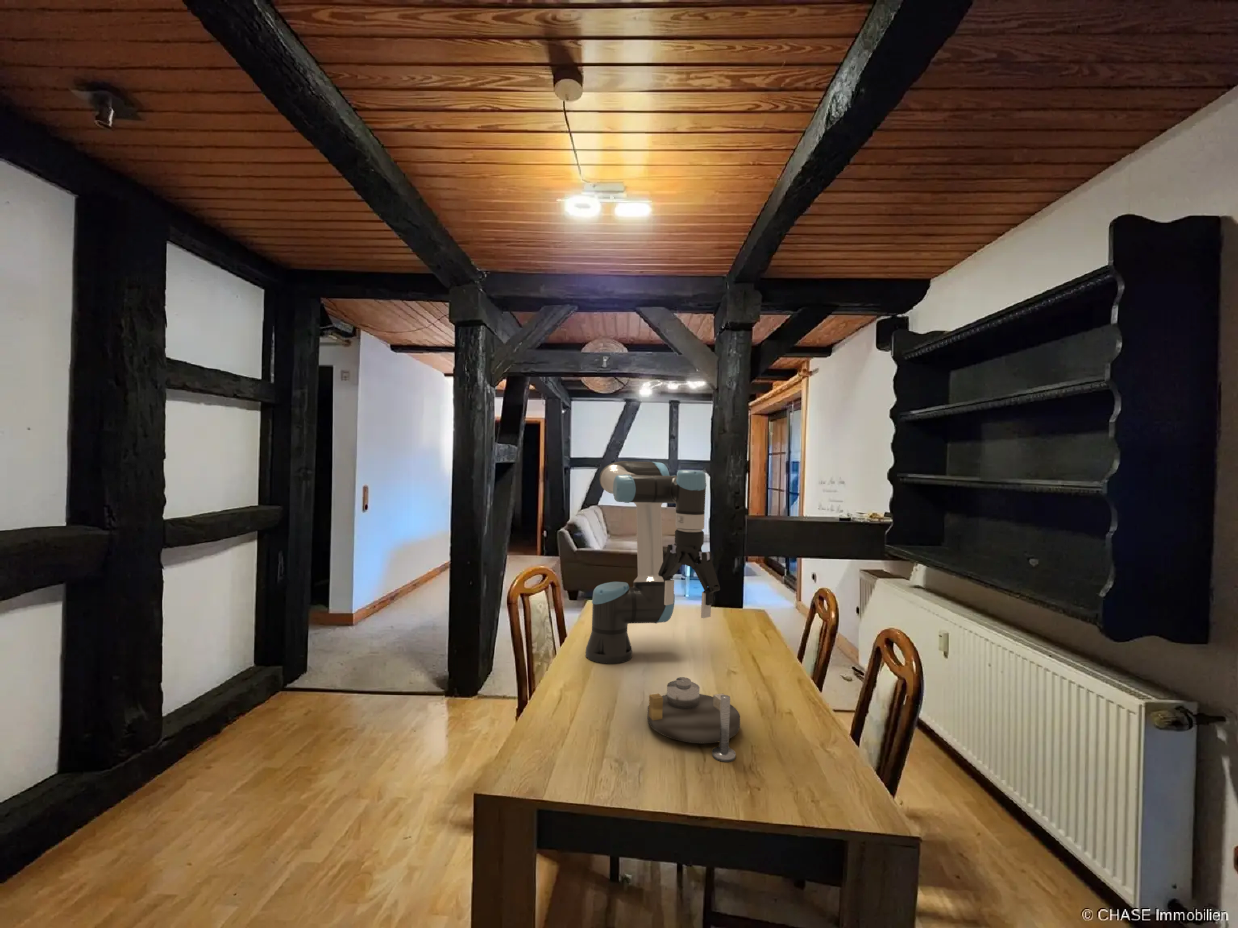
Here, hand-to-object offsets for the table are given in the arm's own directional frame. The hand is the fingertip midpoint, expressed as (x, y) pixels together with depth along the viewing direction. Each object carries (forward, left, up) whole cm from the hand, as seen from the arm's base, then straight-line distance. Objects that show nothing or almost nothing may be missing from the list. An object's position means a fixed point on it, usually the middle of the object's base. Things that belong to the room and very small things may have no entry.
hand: (686, 610), depth 145 cm
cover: (+6, -3, -21) cm, 22 cm away
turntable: (+11, -4, -23) cm, 26 cm away
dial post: (+25, -3, -25) cm, 36 cm away
